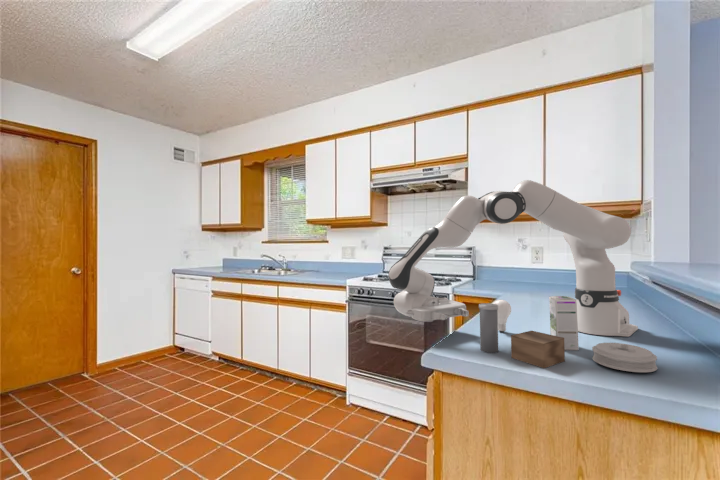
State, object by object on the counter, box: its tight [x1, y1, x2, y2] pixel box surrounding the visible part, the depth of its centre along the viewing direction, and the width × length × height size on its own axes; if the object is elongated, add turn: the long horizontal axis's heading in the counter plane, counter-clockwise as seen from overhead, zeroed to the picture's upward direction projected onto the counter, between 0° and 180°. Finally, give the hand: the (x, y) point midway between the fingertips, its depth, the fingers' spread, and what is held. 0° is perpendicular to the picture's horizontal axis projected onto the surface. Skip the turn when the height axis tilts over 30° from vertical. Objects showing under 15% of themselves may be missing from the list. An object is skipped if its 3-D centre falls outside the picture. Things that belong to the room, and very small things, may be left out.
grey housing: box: [478, 302, 499, 354], centre depth 98 cm, size 5×5×13 cm
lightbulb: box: [492, 299, 512, 333], centre depth 118 cm, size 6×6×11 cm
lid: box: [591, 342, 658, 373], centre depth 85 cm, size 13×13×5 cm
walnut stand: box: [510, 330, 566, 369], centre depth 90 cm, size 9×9×6 cm
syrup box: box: [548, 295, 579, 351], centre depth 100 cm, size 6×6×14 cm
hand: (456, 315), depth 109 cm, fingers open, 8 cm apart
